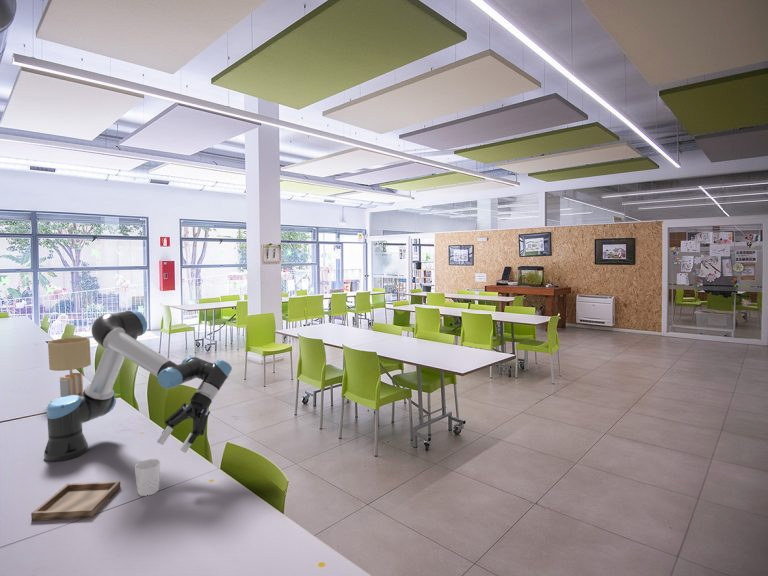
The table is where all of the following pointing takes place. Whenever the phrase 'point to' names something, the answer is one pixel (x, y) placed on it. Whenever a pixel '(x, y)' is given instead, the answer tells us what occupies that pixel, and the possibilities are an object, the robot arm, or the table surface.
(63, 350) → the desk lamp
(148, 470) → the white cup
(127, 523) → the table surface
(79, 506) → the walnut tray
